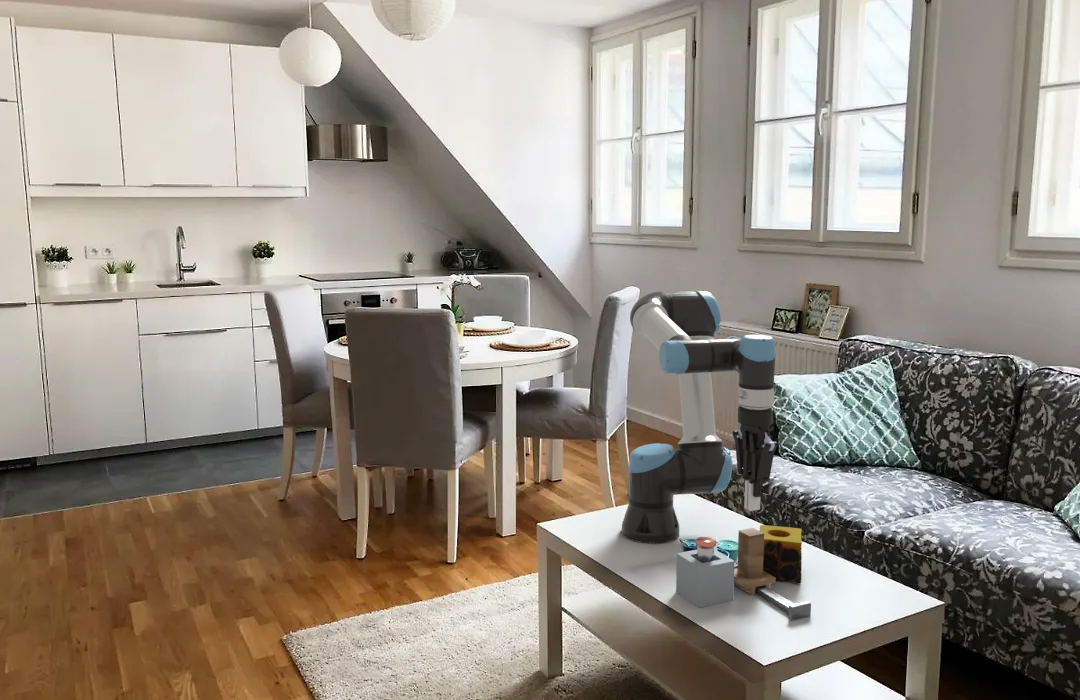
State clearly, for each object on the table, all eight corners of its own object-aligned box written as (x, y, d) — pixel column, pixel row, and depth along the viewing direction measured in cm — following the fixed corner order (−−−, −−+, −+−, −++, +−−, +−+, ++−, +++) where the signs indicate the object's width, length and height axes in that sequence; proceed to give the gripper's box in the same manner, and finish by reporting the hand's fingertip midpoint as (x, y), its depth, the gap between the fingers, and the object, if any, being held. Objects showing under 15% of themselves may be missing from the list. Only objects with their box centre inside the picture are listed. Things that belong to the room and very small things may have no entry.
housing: (676, 591, 200) (676, 553, 198) (709, 584, 203) (710, 546, 202) (698, 607, 191) (699, 568, 190) (733, 600, 195) (734, 561, 194)
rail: (724, 578, 206) (725, 566, 206) (742, 575, 208) (742, 562, 208) (791, 620, 185) (792, 607, 185) (810, 616, 187) (811, 602, 187)
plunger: (691, 559, 197) (691, 538, 196) (707, 556, 199) (708, 535, 198) (702, 566, 193) (703, 545, 192) (719, 563, 195) (720, 542, 194)
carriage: (724, 582, 204) (725, 528, 202) (752, 576, 207) (754, 523, 205) (745, 595, 197) (747, 540, 195) (775, 589, 200) (777, 535, 198)
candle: (801, 585, 203) (802, 543, 201) (755, 580, 206) (756, 538, 204) (801, 568, 212) (803, 528, 211) (758, 563, 215) (759, 523, 214)
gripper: (722, 401, 200) (720, 502, 204) (761, 414, 188) (757, 521, 191) (750, 398, 203) (747, 497, 207) (789, 410, 191) (785, 516, 194)
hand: (752, 508), depth 199 cm, fingers closed
